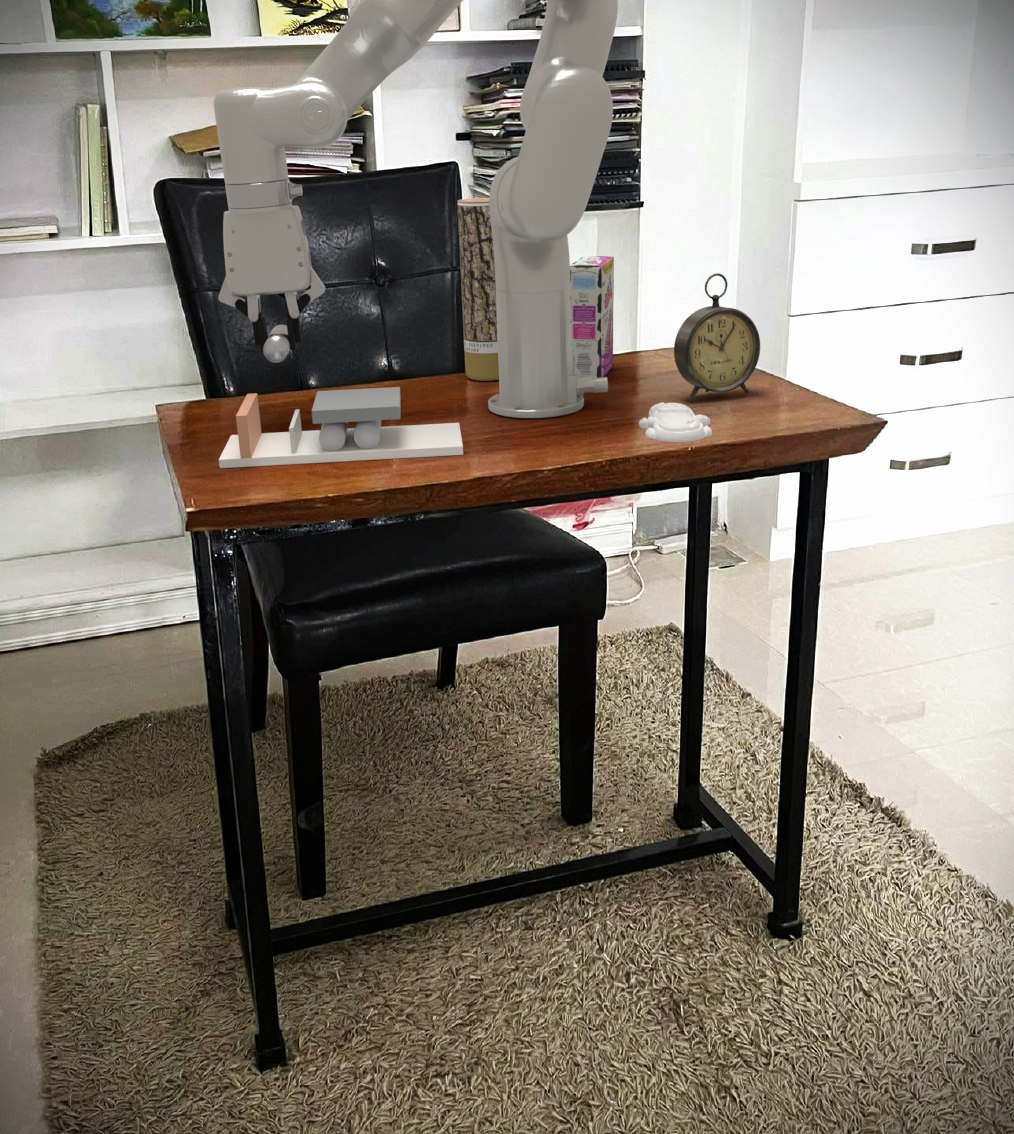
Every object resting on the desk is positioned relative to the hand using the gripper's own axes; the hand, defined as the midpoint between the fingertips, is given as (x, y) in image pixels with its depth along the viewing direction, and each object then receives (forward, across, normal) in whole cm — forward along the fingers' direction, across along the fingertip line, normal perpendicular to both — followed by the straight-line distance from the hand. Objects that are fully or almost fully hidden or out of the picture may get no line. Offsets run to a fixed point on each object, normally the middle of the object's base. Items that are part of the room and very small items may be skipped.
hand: (279, 348), depth 156 cm
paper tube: (+11, -27, -23) cm, 37 cm away
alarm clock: (+12, -56, -4) cm, 57 cm away
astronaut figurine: (+12, -48, +11) cm, 50 cm away
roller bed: (+10, -7, +12) cm, 17 cm away
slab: (+6, -10, +12) cm, 16 cm away
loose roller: (+1, 0, 0) cm, 1 cm away
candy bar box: (+12, -42, -21) cm, 49 cm away
